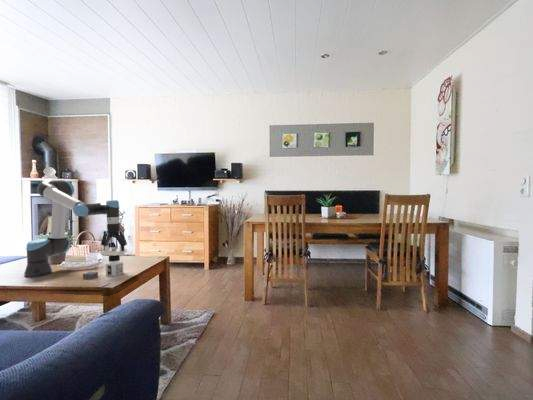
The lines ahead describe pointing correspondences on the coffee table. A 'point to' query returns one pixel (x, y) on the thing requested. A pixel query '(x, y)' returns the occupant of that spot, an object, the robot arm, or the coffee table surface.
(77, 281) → the coffee table surface
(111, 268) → the container
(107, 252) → the lid
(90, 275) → the stand
